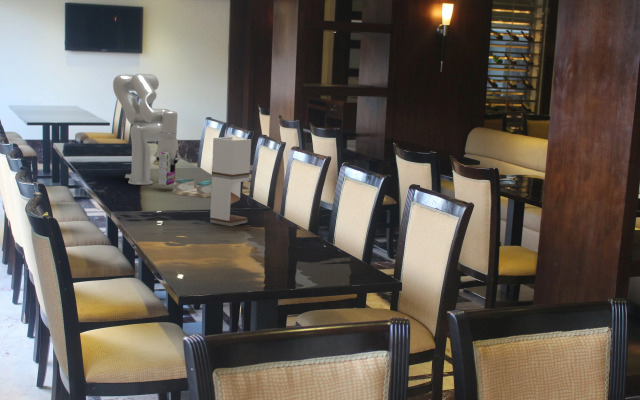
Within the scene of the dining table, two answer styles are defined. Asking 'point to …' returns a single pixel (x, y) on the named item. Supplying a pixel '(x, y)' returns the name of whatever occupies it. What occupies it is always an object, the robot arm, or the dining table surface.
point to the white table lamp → (228, 178)
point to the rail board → (192, 188)
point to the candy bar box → (165, 170)
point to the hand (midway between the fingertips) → (167, 170)
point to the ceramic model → (156, 162)
